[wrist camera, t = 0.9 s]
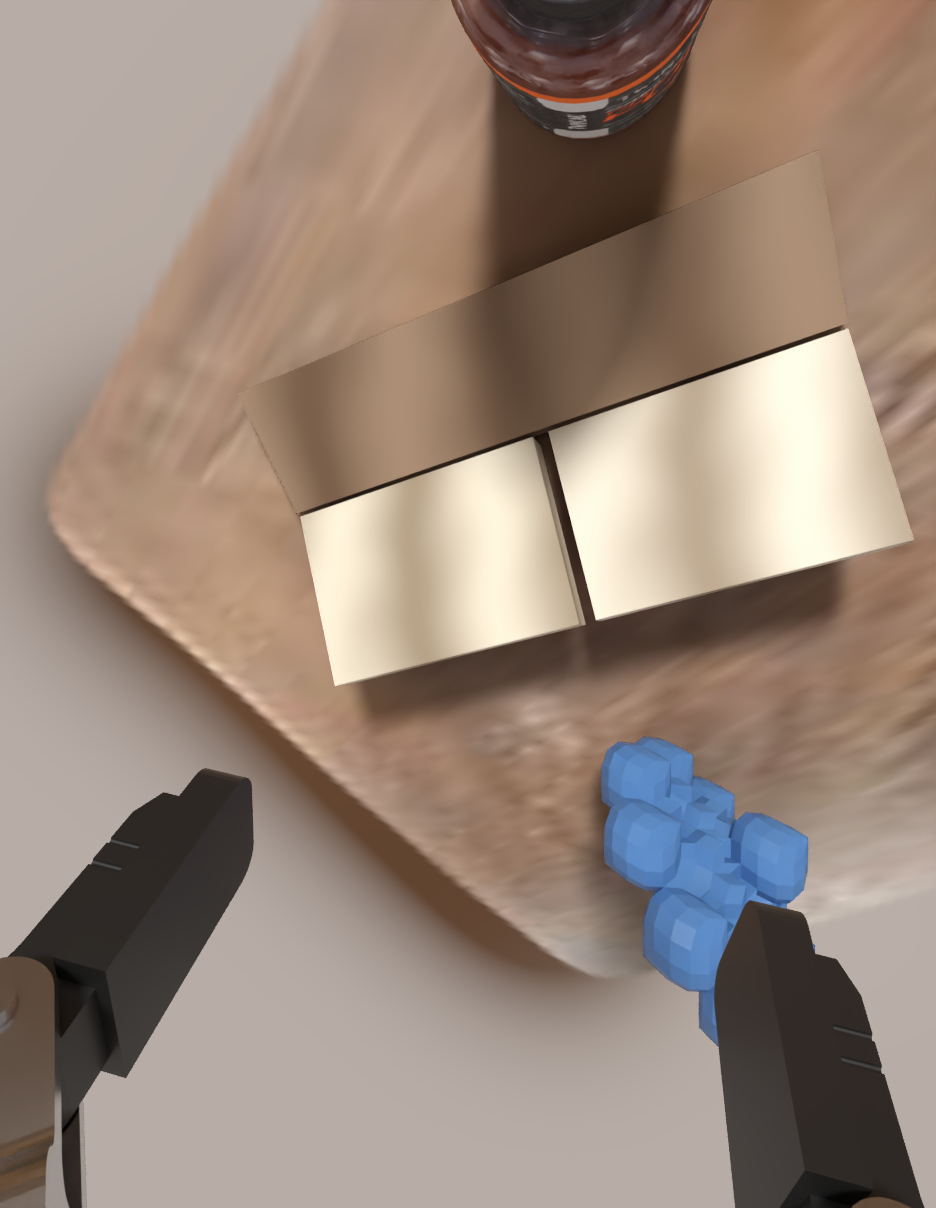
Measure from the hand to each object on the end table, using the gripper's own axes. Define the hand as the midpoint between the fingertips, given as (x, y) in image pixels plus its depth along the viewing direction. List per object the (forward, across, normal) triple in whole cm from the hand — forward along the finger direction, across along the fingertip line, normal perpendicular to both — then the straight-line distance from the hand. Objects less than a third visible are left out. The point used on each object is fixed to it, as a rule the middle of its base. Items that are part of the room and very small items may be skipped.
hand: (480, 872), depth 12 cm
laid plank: (+19, +3, -5) cm, 20 cm away
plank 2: (+17, -5, -2) cm, 18 cm away
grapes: (+19, -9, +12) cm, 24 cm away
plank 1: (+17, +4, +3) cm, 18 cm away
